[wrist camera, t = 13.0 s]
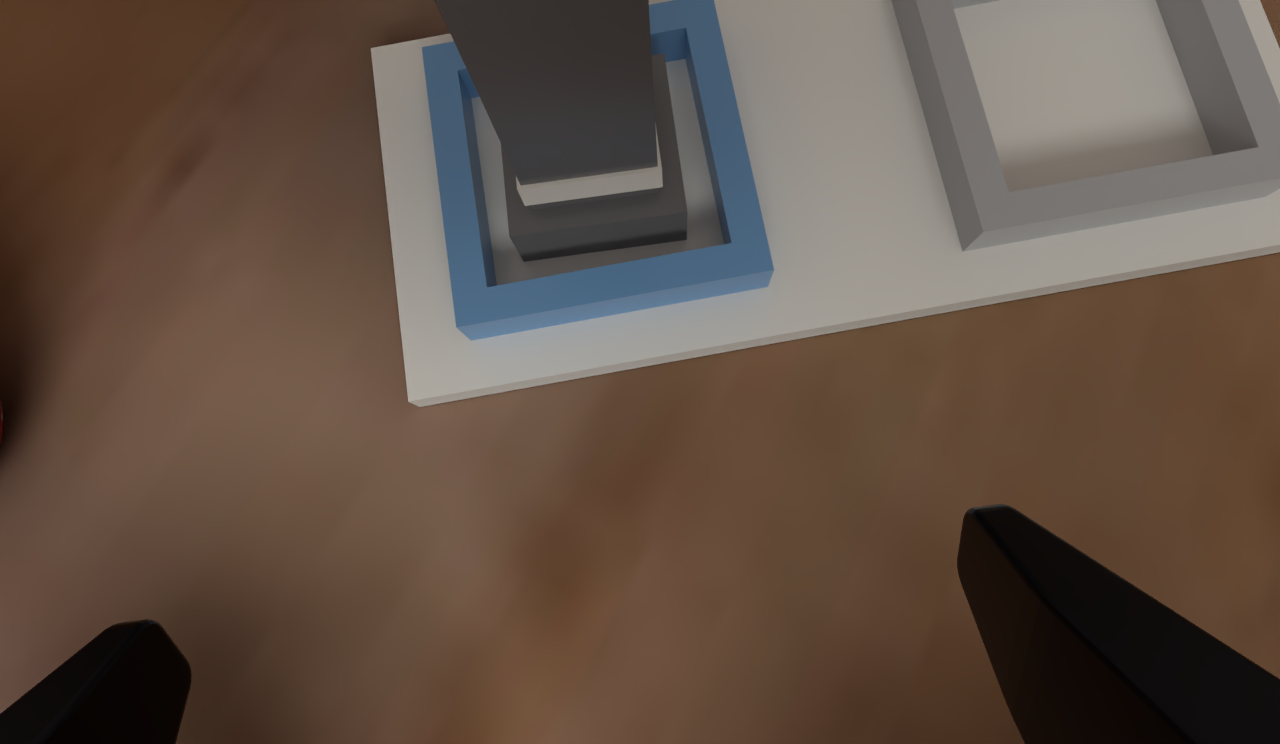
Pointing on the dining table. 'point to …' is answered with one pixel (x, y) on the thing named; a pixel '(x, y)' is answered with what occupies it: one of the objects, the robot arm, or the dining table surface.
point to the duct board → (844, 178)
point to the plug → (576, 121)
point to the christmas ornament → (1, 422)
